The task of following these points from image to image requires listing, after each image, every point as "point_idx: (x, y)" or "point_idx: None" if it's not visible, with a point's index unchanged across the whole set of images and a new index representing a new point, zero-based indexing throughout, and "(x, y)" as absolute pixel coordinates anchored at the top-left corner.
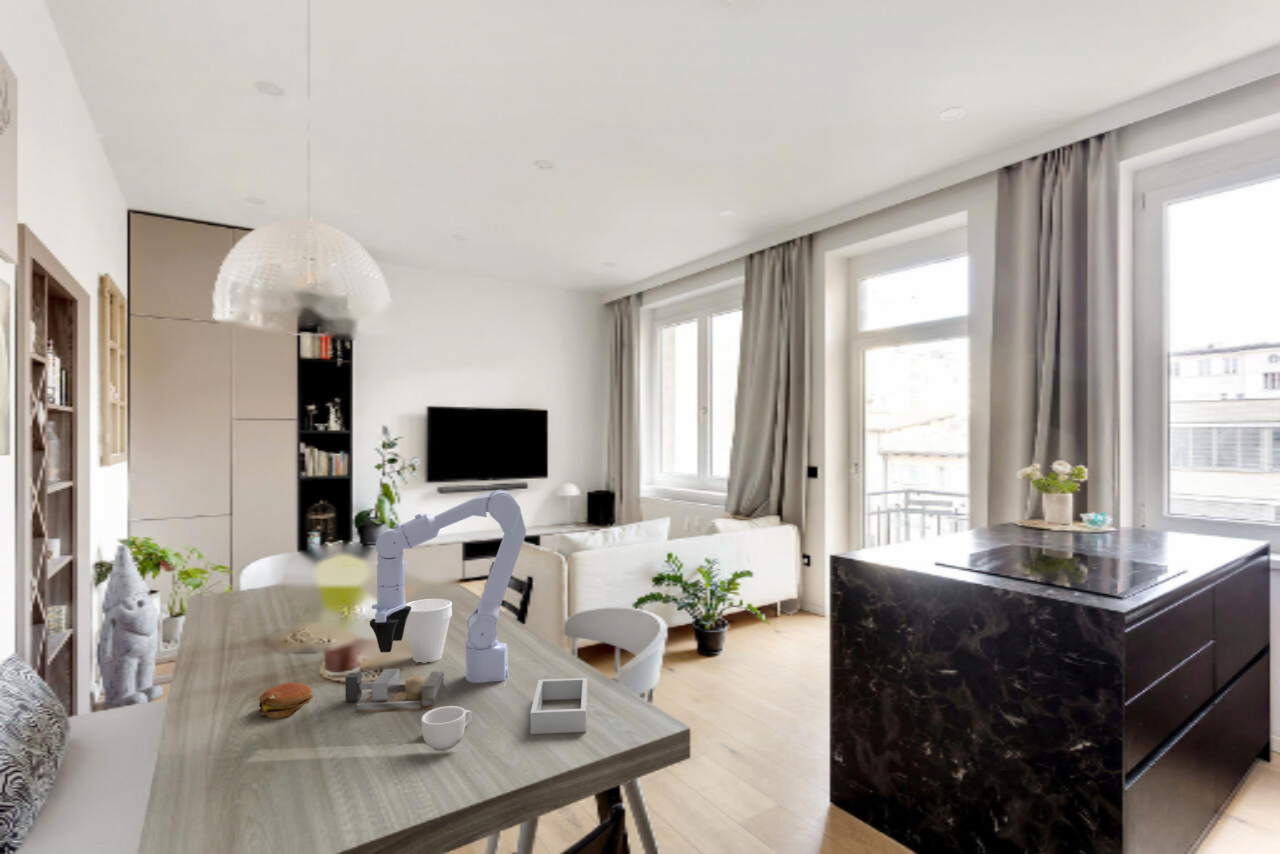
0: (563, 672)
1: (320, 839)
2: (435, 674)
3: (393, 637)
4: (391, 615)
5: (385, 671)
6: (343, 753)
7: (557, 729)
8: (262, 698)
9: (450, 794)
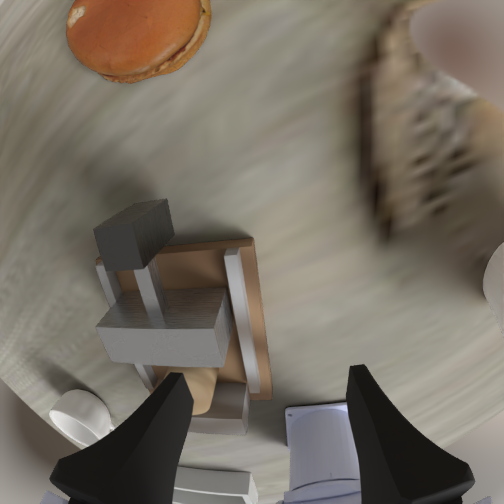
0: None
1: None
2: (223, 426)
3: (351, 385)
4: (380, 489)
5: (190, 336)
6: (20, 287)
7: None
8: None
9: (33, 401)
